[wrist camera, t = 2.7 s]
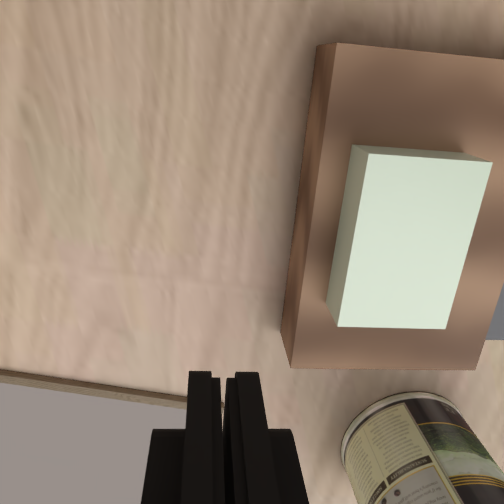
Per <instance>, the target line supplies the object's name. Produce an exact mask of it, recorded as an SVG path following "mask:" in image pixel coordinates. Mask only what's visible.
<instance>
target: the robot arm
mask: <svg viewBox="0 0 504 504" xmlns="http://www.w3.org/2000/svg"><path fill="white" fill-rule="evenodd" d="M141 504H309V501H308V497H307V493H306V489H305V484H304V480H303V476H302V471H301V467H300V463H299V459H298V454H297V450H296V446H295V442H294V437H293V434H292V431H291V430H290V429H268V425H267V419H266V414H265V408H264V402H263V396H262V390H261V384H260V378H259V373H258V372H236V373H235V378H227V381H226V393H225V406H224V419H223V431H222V411H221V387H220V378H212V374H211V371H189V379H188V395H187V410H186V426H185V429H153V430H152V434H151V440H150V446H149V453H148V459H147V466H146V472H145V478H144V485H143V491H142V498H141Z"/></svg>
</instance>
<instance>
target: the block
mask: <svg viewBox="0 0 504 504" xmlns="http://www.w3.org/2000/svg"><path fill="white" fill-rule="evenodd" d="M492 164H493V162H490V161H487V160H484V159H481V158H478V157H475V156H472V155H470V154H467V153H461V152H447V151H434V150H420V149H407V148H393V147H380V146H367V145H353V144H352V148H351V154H350V160H349V166H348V172H347V178H346V184H345V190H344V196H343V202H342V208H341V214H340V220H339V226H338V232H337V238H336V244H335V250H334V256H333V262H332V268H331V274H330V280H329V286H328V292H327V298H326V305H327V307H328V309H329V311H330V313H331V315H332V317H333V319H334V321H335V323H336V325H337V327H372V328H416V329H446V325H447V322H448V318H449V315H450V311H451V308H452V304H453V301H454V297H455V294H456V290H457V287H458V283H459V280H460V276H461V273H462V269H463V266H464V262H465V259H466V255H467V252H468V248H469V244H470V241H471V237H472V234H473V230H474V227H475V223H476V220H477V216H478V213H479V209H480V206H481V202H482V199H483V195H484V192H485V188H486V185H487V181H488V178H489V174H490V171H491V167H492Z"/></svg>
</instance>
